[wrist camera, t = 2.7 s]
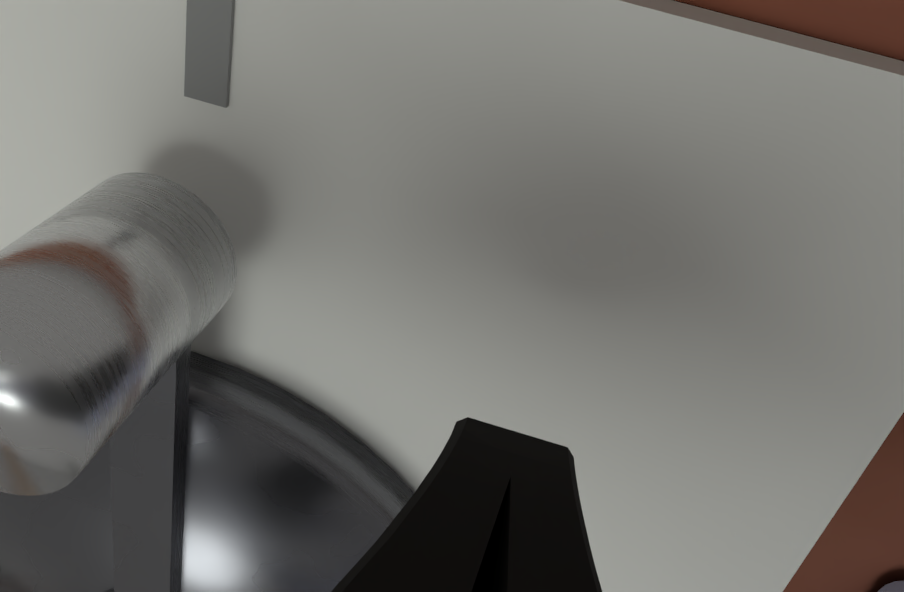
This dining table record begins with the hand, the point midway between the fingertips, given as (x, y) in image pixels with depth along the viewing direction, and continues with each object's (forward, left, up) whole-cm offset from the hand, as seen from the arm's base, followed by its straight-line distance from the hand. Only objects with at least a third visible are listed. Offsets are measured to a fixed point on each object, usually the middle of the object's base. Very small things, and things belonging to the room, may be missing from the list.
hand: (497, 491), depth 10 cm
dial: (+6, +8, -4) cm, 11 cm away
